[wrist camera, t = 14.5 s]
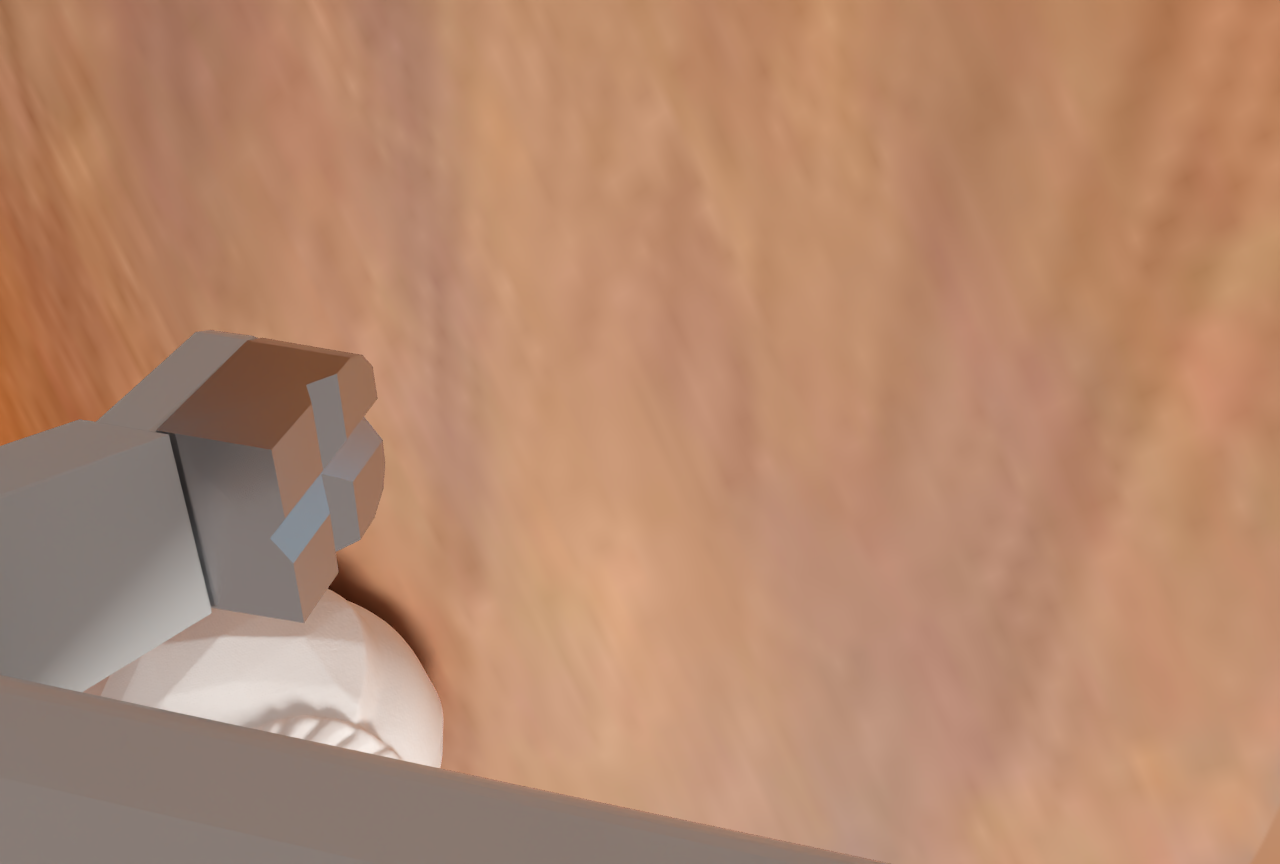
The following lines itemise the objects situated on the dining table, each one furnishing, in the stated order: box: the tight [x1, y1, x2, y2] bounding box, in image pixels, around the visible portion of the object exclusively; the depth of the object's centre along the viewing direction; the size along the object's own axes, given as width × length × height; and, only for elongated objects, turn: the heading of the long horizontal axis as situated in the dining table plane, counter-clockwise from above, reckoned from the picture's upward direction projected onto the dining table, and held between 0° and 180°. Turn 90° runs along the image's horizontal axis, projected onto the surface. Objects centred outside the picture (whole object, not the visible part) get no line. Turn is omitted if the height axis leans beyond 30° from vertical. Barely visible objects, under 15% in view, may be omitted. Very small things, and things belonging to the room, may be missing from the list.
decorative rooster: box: [83, 589, 443, 768], centre depth 61 cm, size 25×16×25 cm, turn 82°
